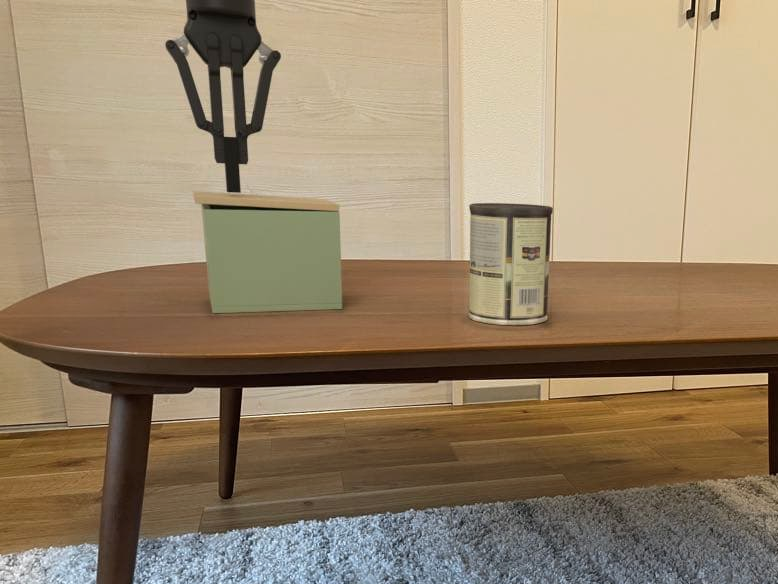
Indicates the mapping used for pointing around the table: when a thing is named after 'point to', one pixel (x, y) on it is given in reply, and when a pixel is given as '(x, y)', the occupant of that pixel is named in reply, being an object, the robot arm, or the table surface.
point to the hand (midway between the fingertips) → (233, 191)
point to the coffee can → (509, 263)
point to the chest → (272, 259)
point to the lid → (263, 201)
